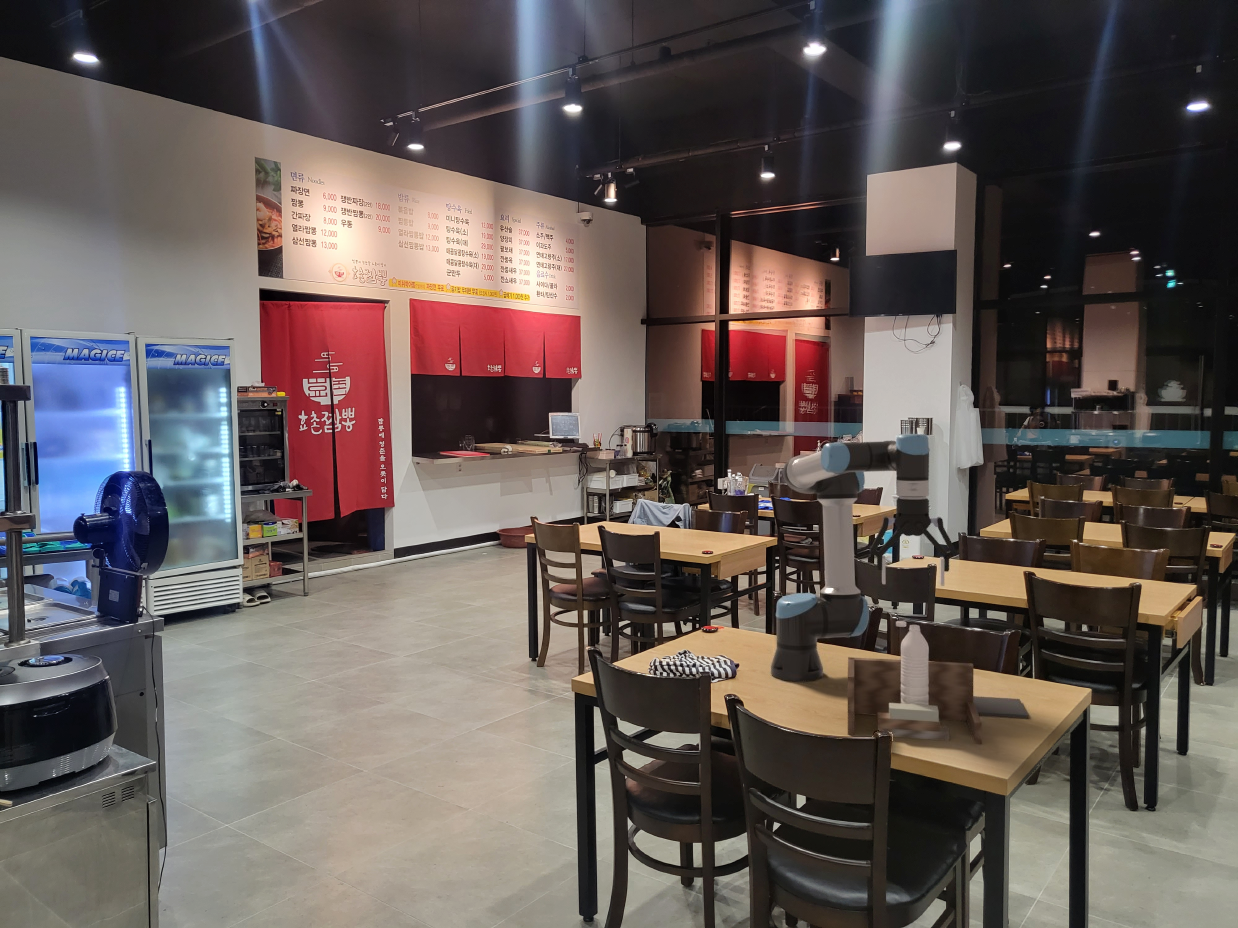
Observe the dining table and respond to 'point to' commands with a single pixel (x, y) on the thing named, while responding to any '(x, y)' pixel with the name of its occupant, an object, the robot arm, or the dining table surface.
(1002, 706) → the rubber mat
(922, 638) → the water bottle
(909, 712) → the offcut top
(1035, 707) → the dining table surface
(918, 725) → the offcut middle
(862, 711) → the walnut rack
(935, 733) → the offcut bottom
